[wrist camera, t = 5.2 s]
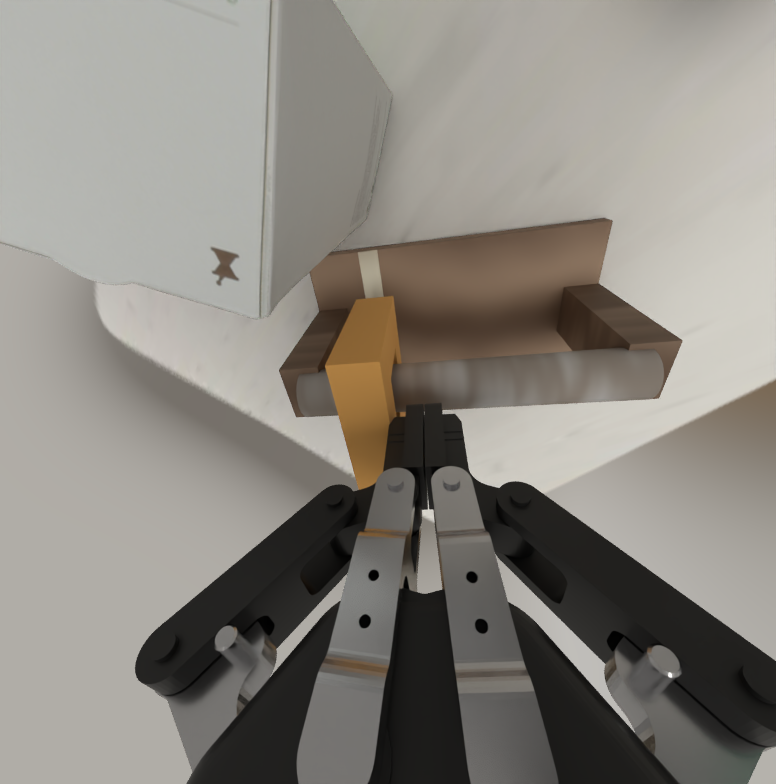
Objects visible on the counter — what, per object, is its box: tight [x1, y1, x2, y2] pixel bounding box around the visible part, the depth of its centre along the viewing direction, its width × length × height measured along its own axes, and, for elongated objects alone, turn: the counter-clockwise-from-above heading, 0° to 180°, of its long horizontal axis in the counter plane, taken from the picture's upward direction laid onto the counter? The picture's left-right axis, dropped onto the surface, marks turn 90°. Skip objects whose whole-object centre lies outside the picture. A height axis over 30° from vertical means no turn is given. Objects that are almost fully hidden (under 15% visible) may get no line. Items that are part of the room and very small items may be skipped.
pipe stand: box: [279, 218, 682, 417], centre depth 19 cm, size 10×18×10 cm, turn 97°
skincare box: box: [0, 0, 392, 319], centre depth 12 cm, size 8×7×16 cm
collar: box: [325, 296, 406, 490], centre depth 16 cm, size 7×2×7 cm, turn 7°
